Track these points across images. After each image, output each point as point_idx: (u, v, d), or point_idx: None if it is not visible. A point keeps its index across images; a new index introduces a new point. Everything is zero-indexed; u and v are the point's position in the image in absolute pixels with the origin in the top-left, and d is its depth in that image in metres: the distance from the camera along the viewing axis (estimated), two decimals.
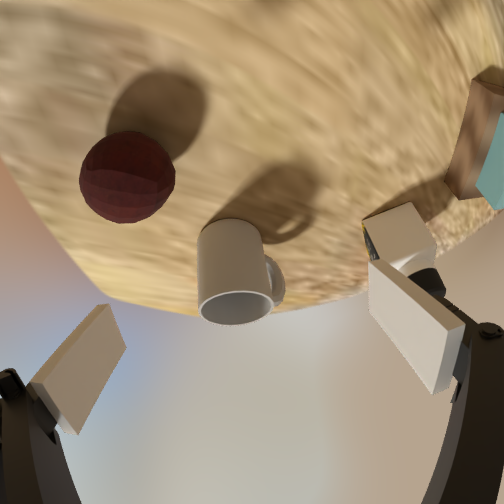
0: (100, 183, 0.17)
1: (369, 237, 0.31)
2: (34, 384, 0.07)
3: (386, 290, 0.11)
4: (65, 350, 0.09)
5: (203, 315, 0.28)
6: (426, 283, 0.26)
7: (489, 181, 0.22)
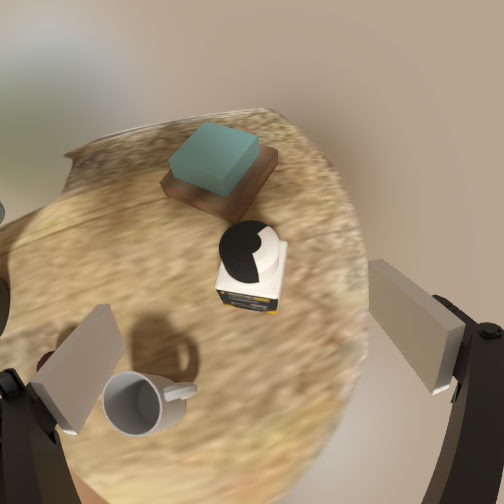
0: (38, 366, 0.28)
1: (221, 298, 0.35)
2: (34, 384, 0.07)
3: (386, 290, 0.11)
4: (65, 350, 0.09)
5: (119, 429, 0.23)
6: None
7: (212, 185, 0.40)
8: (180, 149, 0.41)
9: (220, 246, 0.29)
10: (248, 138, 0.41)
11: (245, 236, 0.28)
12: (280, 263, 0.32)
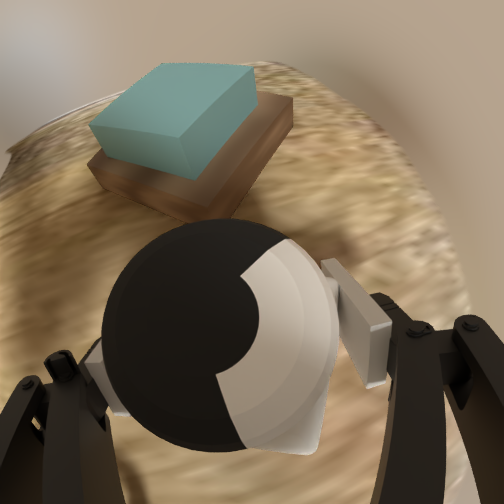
0: None
1: None
2: (90, 364, 0.08)
3: None
4: None
5: None
6: None
7: (164, 157, 0.18)
8: (112, 104, 0.20)
9: (102, 324, 0.07)
10: (235, 71, 0.20)
11: (187, 290, 0.06)
12: None
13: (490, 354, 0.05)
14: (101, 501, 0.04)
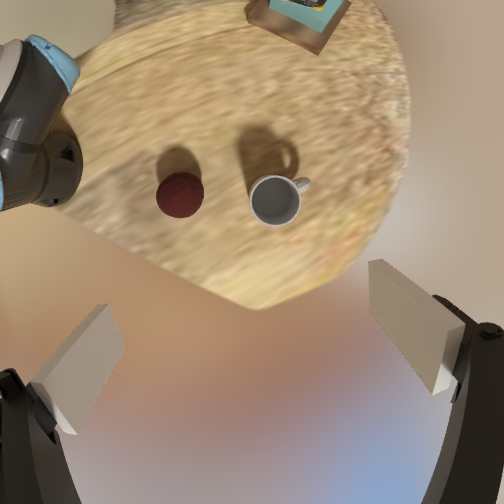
0: (162, 194, 0.41)
1: None
2: (34, 384, 0.07)
3: (386, 290, 0.11)
4: (65, 350, 0.09)
5: (267, 223, 0.41)
6: None
7: (311, 23, 0.35)
8: None
9: None
10: None
11: None
12: None
13: None
14: None
